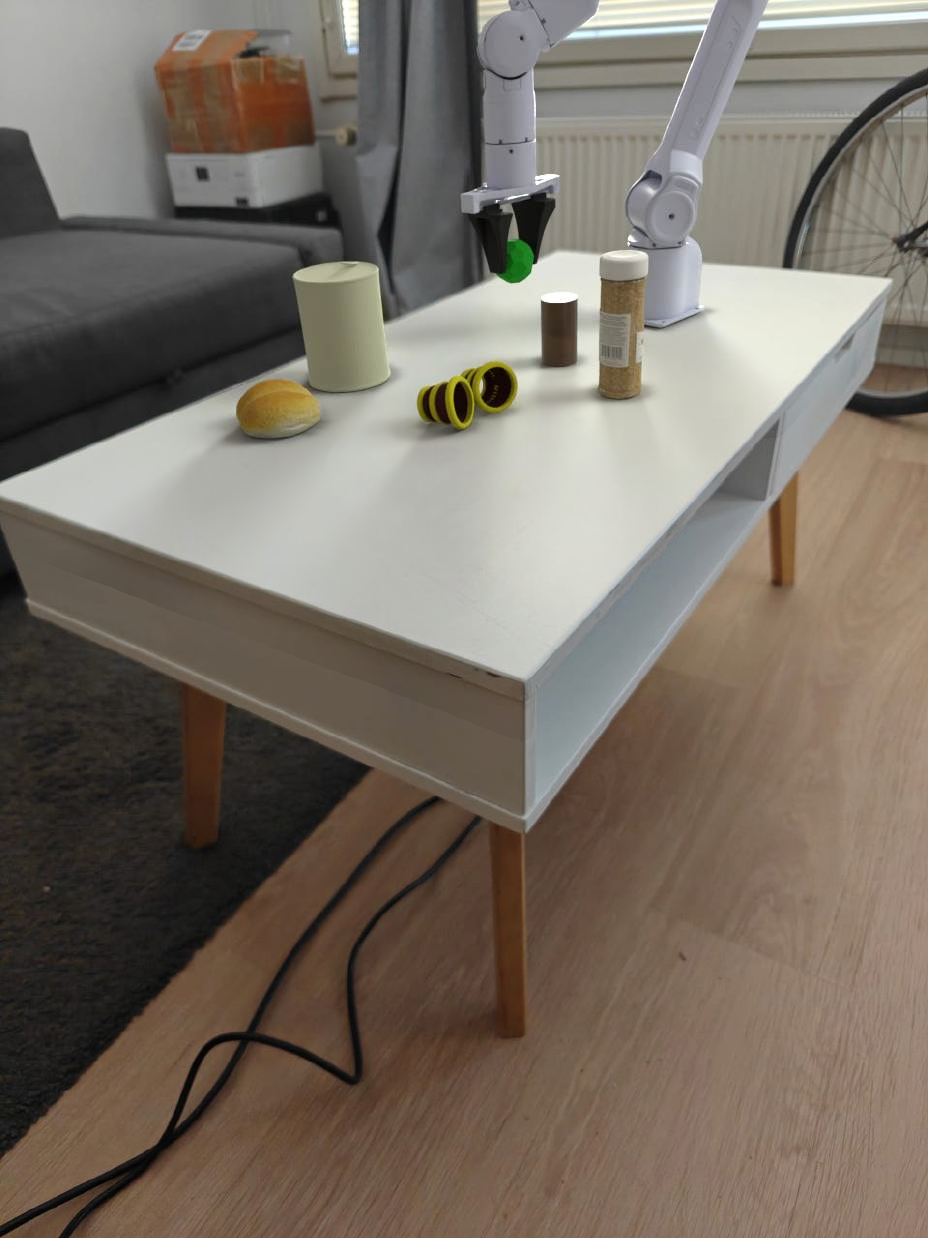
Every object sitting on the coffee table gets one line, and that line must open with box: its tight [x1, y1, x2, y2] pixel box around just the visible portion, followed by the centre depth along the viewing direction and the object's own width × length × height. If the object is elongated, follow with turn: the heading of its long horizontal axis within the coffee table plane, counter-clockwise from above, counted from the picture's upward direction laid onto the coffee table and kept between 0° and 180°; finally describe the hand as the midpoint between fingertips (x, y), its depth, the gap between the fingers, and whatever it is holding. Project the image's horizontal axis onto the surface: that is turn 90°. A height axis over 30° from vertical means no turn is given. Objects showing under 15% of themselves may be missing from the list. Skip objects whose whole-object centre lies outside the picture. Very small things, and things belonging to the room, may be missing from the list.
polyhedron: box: [495, 238, 534, 285], centre depth 107 cm, size 5×5×5 cm
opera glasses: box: [416, 360, 519, 430], centre depth 87 cm, size 10×5×5 cm, turn 136°
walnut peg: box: [540, 292, 579, 368], centre depth 99 cm, size 4×4×7 cm
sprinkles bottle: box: [597, 249, 648, 400], centre depth 88 cm, size 5×5×13 cm
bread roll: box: [235, 378, 322, 439], centre depth 89 cm, size 8×9×4 cm
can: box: [292, 261, 392, 393], centre depth 97 cm, size 9×9×12 cm
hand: (514, 267), depth 108 cm, fingers closed on polyhedron, 5 cm apart
